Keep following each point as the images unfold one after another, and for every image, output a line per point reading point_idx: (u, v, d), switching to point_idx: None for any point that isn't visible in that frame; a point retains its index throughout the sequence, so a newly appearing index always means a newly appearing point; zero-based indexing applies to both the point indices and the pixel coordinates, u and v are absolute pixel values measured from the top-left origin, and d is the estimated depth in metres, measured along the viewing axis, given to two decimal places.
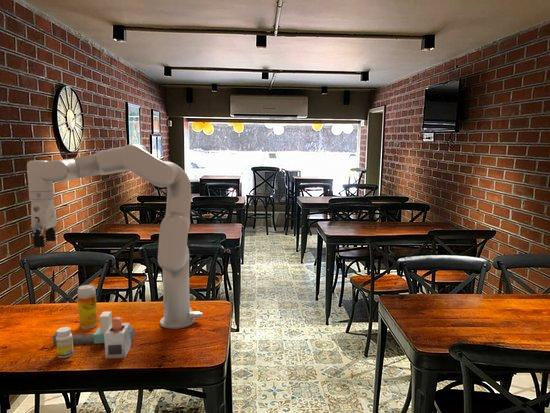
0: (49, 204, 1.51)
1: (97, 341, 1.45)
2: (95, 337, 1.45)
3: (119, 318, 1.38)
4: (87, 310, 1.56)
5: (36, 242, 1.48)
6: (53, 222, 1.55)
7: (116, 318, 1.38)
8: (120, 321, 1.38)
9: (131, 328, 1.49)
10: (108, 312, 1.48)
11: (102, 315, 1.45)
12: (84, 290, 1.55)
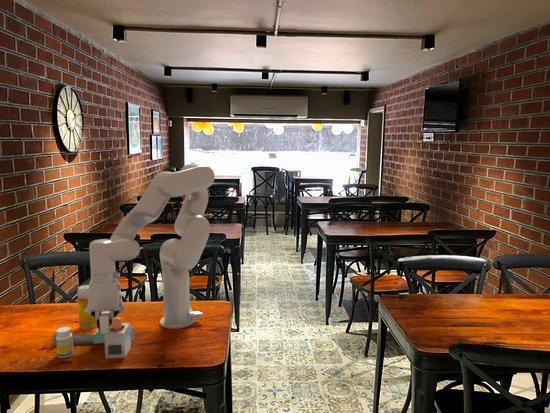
0: None
1: (97, 341, 1.45)
2: (95, 337, 1.45)
3: (119, 318, 1.38)
4: None
5: None
6: None
7: (116, 318, 1.38)
8: (120, 321, 1.38)
9: (131, 328, 1.49)
10: (108, 312, 1.48)
11: (102, 315, 1.45)
12: (84, 290, 1.55)
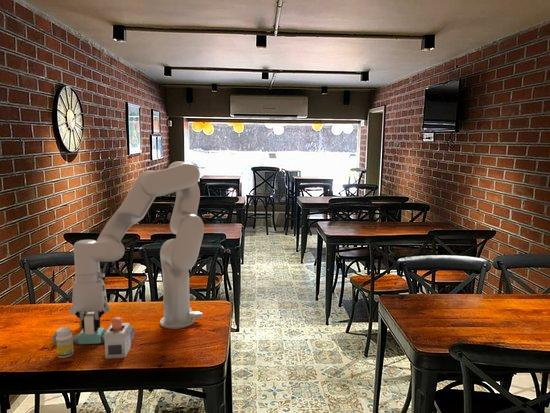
0: None
1: (82, 342, 1.45)
2: (80, 338, 1.44)
3: (119, 318, 1.38)
4: None
5: (99, 324, 1.47)
6: None
7: (116, 318, 1.38)
8: (120, 321, 1.38)
9: (131, 328, 1.49)
10: (93, 313, 1.47)
11: (87, 316, 1.45)
12: None
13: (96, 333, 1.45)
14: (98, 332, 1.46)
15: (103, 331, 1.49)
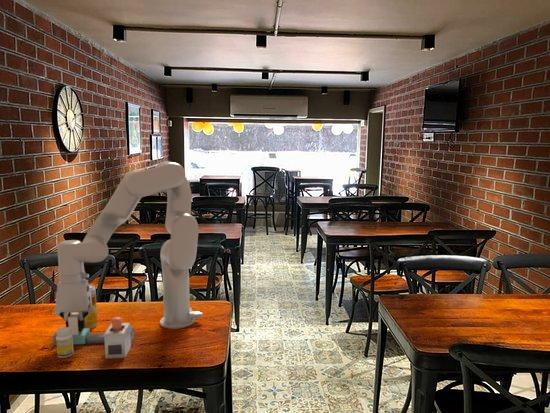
0: None
1: None
2: None
3: (119, 318, 1.38)
4: None
5: (83, 325, 1.46)
6: None
7: (116, 318, 1.38)
8: (120, 321, 1.38)
9: (131, 328, 1.49)
10: (77, 313, 1.47)
11: (71, 316, 1.44)
12: None
13: (80, 334, 1.45)
14: (82, 332, 1.46)
15: (88, 332, 1.48)
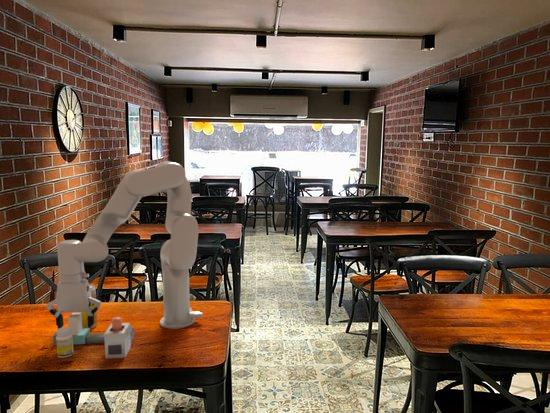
0: None
1: None
2: None
3: (119, 318, 1.38)
4: None
5: (93, 321, 1.46)
6: None
7: (116, 318, 1.38)
8: (120, 321, 1.38)
9: (131, 328, 1.49)
10: (77, 313, 1.47)
11: (71, 316, 1.44)
12: None
13: (80, 334, 1.45)
14: (82, 332, 1.46)
15: (88, 332, 1.48)
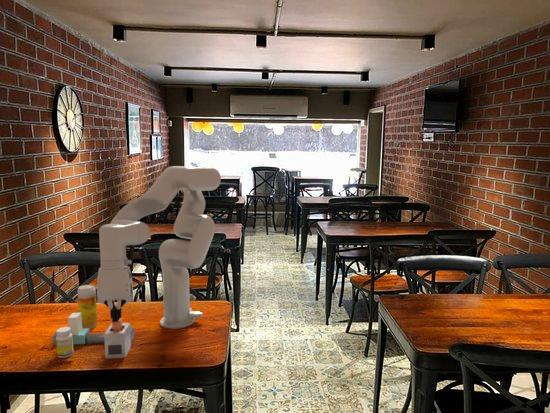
0: None
1: None
2: None
3: (119, 319, 1.38)
4: (87, 310, 1.56)
5: (120, 314, 1.38)
6: None
7: None
8: (120, 322, 1.38)
9: (131, 328, 1.49)
10: (77, 313, 1.47)
11: (71, 316, 1.44)
12: (84, 290, 1.55)
13: (80, 334, 1.45)
14: (82, 332, 1.46)
15: (88, 332, 1.48)
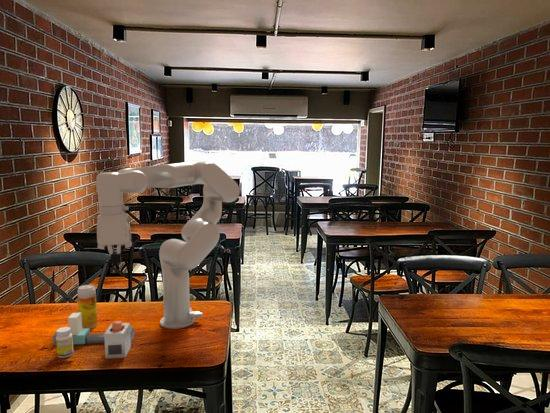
0: None
1: None
2: None
3: (119, 322, 1.38)
4: (87, 310, 1.56)
5: (120, 259, 1.44)
6: None
7: (116, 322, 1.38)
8: (120, 325, 1.38)
9: (131, 328, 1.49)
10: (77, 313, 1.47)
11: (71, 316, 1.44)
12: (84, 290, 1.55)
13: (80, 334, 1.45)
14: (82, 332, 1.46)
15: (88, 332, 1.48)
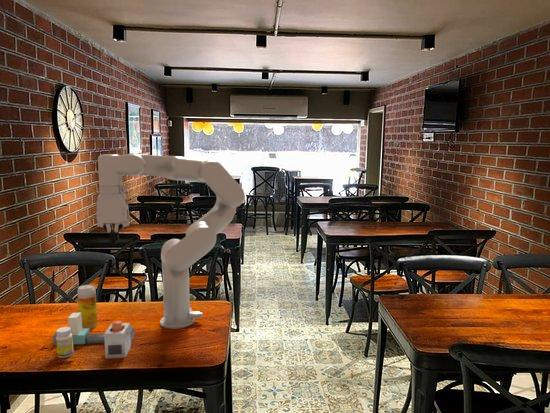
0: None
1: None
2: None
3: (119, 322, 1.38)
4: (87, 310, 1.56)
5: (118, 237, 1.51)
6: None
7: (116, 322, 1.38)
8: (120, 325, 1.38)
9: (131, 328, 1.49)
10: (77, 313, 1.47)
11: (71, 316, 1.44)
12: (84, 290, 1.55)
13: (80, 334, 1.45)
14: (82, 332, 1.46)
15: (88, 332, 1.48)
